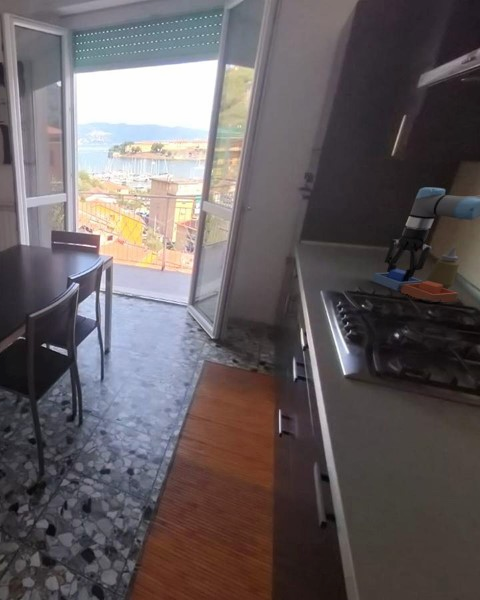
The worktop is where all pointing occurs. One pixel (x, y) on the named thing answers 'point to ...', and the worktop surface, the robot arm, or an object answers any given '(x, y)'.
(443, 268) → the squeeze bottle
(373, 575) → the worktop surface
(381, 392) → the worktop surface
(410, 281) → the blue bin
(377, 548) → the worktop surface
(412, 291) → the terracotta bin
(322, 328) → the worktop surface
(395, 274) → the blue cube
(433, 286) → the terracotta cube
